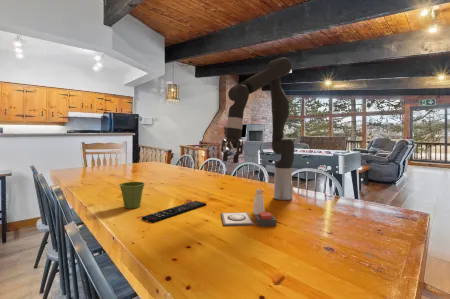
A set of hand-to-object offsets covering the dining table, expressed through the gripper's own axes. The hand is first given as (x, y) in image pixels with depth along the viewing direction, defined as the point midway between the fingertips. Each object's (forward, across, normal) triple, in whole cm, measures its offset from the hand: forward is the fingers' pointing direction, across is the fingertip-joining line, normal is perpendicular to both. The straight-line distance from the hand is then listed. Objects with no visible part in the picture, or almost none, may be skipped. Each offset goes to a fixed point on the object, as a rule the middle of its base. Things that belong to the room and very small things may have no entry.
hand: (229, 162), depth 118 cm
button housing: (+22, -23, -5) cm, 32 cm away
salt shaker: (+21, -13, -10) cm, 27 cm away
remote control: (+26, +10, +19) cm, 34 cm away
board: (+23, -14, +3) cm, 27 cm away
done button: (+20, -23, -4) cm, 31 cm away
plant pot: (+28, +28, +34) cm, 52 cm away
